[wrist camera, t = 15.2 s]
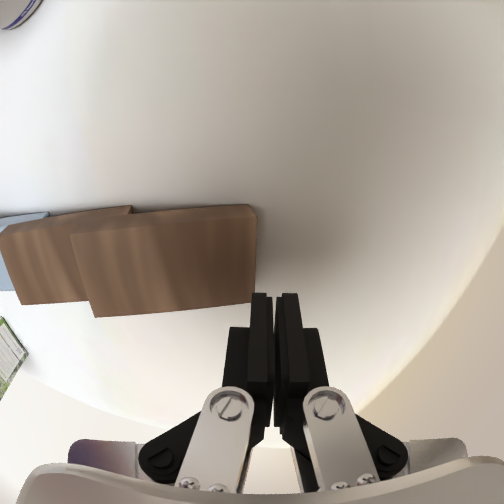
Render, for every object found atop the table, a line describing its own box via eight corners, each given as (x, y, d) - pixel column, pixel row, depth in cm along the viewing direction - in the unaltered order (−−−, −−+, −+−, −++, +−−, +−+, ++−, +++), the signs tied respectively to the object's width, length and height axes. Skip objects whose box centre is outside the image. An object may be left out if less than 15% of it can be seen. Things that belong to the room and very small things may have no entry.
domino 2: (126, 216, 14) (-5, 236, 12) (142, 296, 16) (21, 305, 14) (131, 205, 15) (8, 225, 13) (144, 279, 17) (30, 289, 16)
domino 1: (63, 275, 18) (-18, 279, 15) (48, 211, 15) (-36, 224, 13) (56, 289, 16) (-27, 291, 14) (38, 222, 14) (-47, 234, 12)
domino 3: (257, 216, 13) (69, 234, 11) (254, 302, 16) (95, 317, 14) (248, 204, 15) (80, 220, 13) (246, 283, 17) (100, 298, 15)
